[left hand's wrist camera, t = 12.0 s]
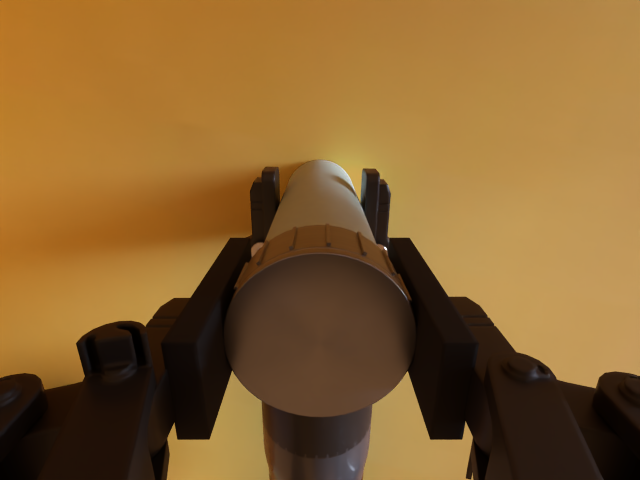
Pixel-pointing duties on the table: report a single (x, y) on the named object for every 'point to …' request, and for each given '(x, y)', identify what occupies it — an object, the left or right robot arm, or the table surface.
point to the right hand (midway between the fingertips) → (320, 171)
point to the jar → (320, 201)
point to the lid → (320, 323)
